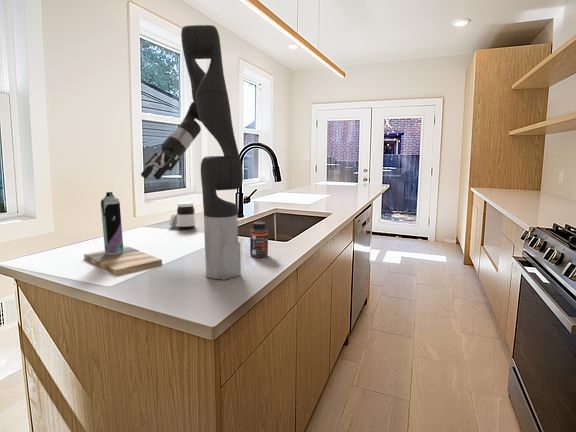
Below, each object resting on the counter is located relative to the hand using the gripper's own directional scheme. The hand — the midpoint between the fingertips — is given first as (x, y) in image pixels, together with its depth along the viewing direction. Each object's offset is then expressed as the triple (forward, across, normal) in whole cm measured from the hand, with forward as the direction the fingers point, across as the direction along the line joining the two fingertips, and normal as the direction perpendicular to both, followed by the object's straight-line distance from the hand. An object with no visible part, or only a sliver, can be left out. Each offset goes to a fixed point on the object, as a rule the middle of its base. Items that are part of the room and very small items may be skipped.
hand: (149, 177), depth 125 cm
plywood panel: (+28, +4, +9) cm, 29 cm away
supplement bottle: (+4, +32, +33) cm, 46 cm away
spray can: (+26, -2, +8) cm, 28 cm away
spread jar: (-2, -26, +38) cm, 46 cm away
